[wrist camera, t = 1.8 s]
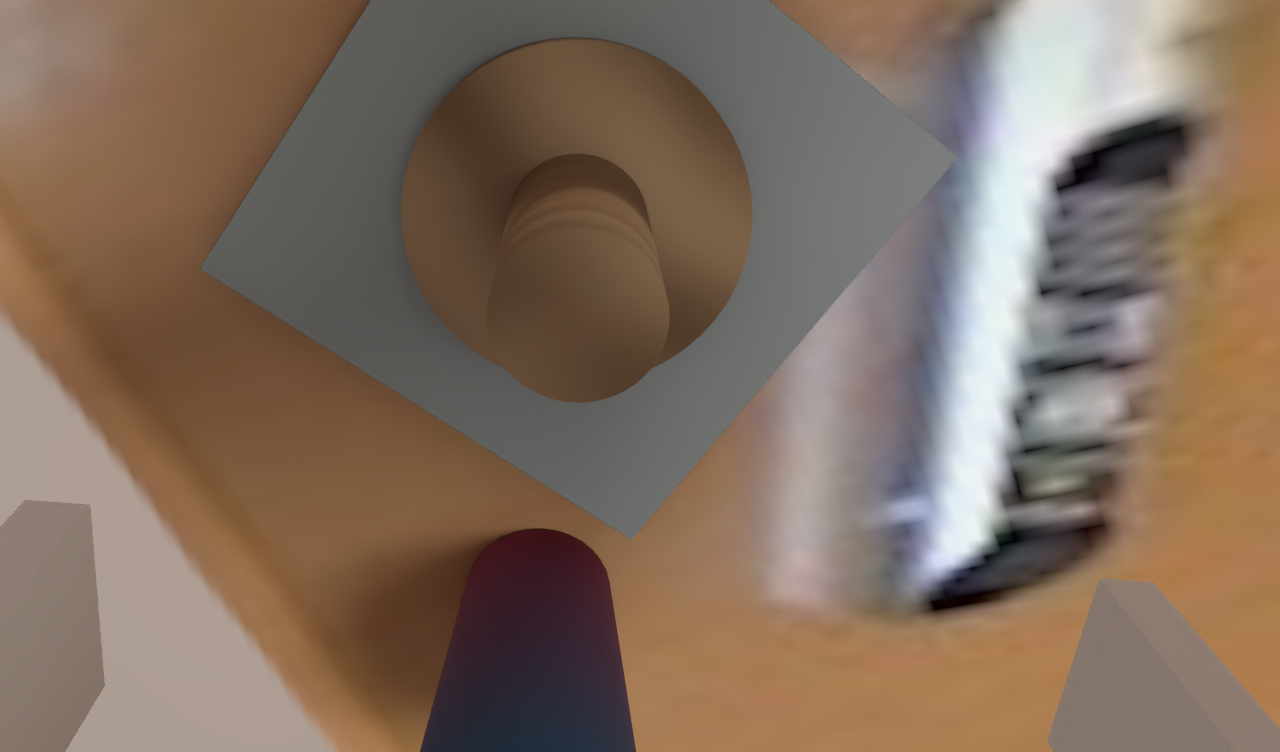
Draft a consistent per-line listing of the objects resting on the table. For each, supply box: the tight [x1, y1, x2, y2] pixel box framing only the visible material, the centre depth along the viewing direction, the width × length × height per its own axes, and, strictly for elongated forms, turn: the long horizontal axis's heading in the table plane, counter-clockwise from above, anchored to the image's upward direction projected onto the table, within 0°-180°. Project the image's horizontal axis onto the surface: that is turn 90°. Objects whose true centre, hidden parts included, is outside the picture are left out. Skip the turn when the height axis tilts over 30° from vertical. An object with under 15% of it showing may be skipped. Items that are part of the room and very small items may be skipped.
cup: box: [420, 529, 636, 752], centre depth 32 cm, size 7×7×15 cm
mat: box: [200, 0, 958, 539], centre depth 33 cm, size 16×16×1 cm
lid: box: [401, 37, 752, 403], centre depth 29 cm, size 10×10×9 cm
